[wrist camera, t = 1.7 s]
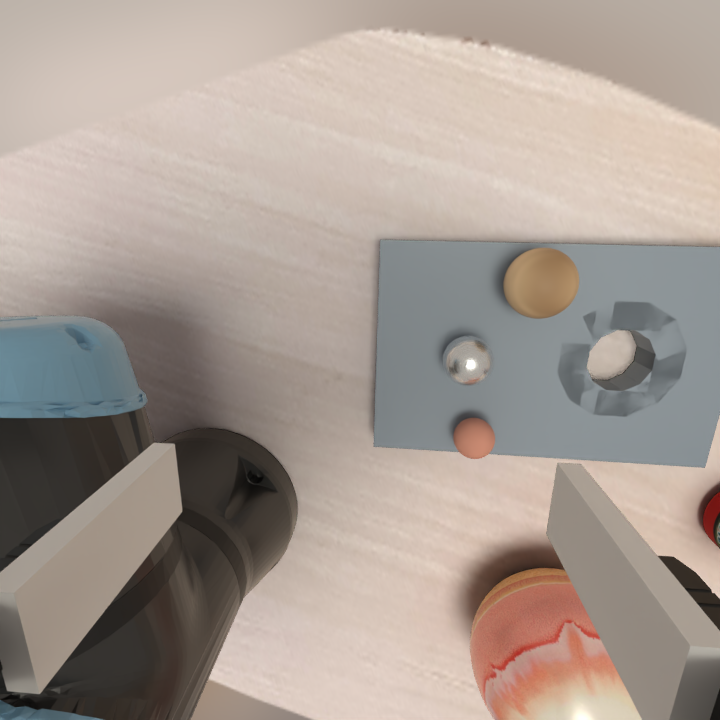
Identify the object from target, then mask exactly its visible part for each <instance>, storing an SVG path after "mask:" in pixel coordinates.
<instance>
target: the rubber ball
mask: <svg viewBox="0 0 720 720" xmlns="http://www.w3.org/2000/svg"><path fill="white" fill-rule="evenodd" d="M453 440H454V444H455V446H456V448H457V450H458V451H459V452H460V453H461V454H462V455H464V456H466V457H468V458H472V459H479V458H482V457H485V456H486V455H488V454H489V453H490V452H491V451H492V449H493V447H494V444H495V434H494V431H493V429H492V427H491V426H490V425H489V424H488V423H487V422H486V421H484V420H482V419H479V418H468V419H465V420H463V421H461V422H460V423H459V424H458V425H457V427H456V428H455V431H454V435H453Z"/></svg>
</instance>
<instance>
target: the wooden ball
mask: <svg viewBox="0 0 720 720" xmlns="http://www.w3.org/2000/svg"><path fill="white" fill-rule="evenodd" d="M503 288H504V294H505V297H506V300H507V301H508V303H509V305H510V306H511V307H512V308H513V309H514V310H515V311H516V312H518V313H519V314H521V315H523V316H526V317H529V318H535V319H543V318H549V317H552V316H555V315H557V314H559V313H560V312H562V311H563V310H565V309H566V308H567V307H568V306H569V305H570V304H571V303H572V301H573V300H574V298H575V296H576V294H577V292H578V288H579V274H578V270H577V268H576V266H575V264H574V262H573V261H572V260H571V259H570V258H569V257H568V256H567V255H566V254H564V253H563V252H561V251H559V250H556V249H552V248H536V249H532V250H529V251H526V252H524V253H523V254H521V255H520V256H518V257H517V258H516V259H515V260H514V261H513V262H512V263H511V264H510V266H509V267H508V269H507V271H506V274H505V277H504V282H503Z"/></svg>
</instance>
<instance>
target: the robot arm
mask: <svg viewBox="0 0 720 720" xmlns="http://www.w3.org/2000/svg"><path fill="white" fill-rule="evenodd" d="M146 403H147V397H146V394H145V393H144V392H143V391H142V390H141V389H140V388H139V385H138V383H137V380H136V377H135V374H134V371H133V368H132V365H131V362H130V360H129V357H128V354H127V351H126V348H125V345H124V343H123V341H122V339H121V337H120V336H119V335H118V333H117V332H116V331H115V330H113V329H112V328H111V327H110V326H108V325H107V324H105V323H103V322H101V321H99V320H96V319H93V318H89V317H83V316H20V317H0V720H190V719H191V717H192V715H193V713H194V711H195V708H196V706H197V703H198V701H199V699H200V697H201V694H202V692H203V690H204V688H205V685H206V683H207V681H208V678H209V676H210V674H211V671H212V669H213V667H214V665H215V662H216V660H217V658H218V655H219V653H220V651H221V649H222V646H223V644H224V642H225V639H226V637H227V635H228V632H229V630H230V628H231V626H232V623H233V621H234V619H235V616H236V614H237V612H238V609H239V607H240V605H241V603H242V600H243V598H244V597H245V596H246V595H247V594H248V593H249V592H250V591H251V590H252V589H253V588H254V587H255V586H256V585H257V584H258V583H259V582H260V580H261V579H262V578H263V577H264V576H265V575H266V574H267V573H268V572H269V571H270V570H271V569H272V568H273V567H274V566H275V565H276V564H277V563H278V562H279V560H280V559H281V558H282V556H283V554H284V553H285V551H286V549H287V547H288V544H289V542H290V539H291V537H292V534H293V531H294V528H295V525H296V520H297V500H296V495H295V491H294V488H293V485H292V483H291V481H290V479H289V477H288V475H287V473H286V472H285V470H284V469H283V467H282V466H281V465H280V463H279V462H278V461H277V460H276V459H275V458H274V457H273V456H272V455H271V454H270V453H269V452H268V451H267V450H265V449H264V448H263V447H261V446H260V445H258V444H257V443H255V442H254V441H252V440H250V439H248V438H246V437H244V436H241V435H239V434H236V433H233V432H229V431H225V430H219V429H194V430H189V431H185V432H182V433H179V434H177V435H175V436H172V437H171V438H169V439H167V440H166V441H164V442H163V443H155V442H154V438H153V435H152V431H151V428H150V424H149V421H148V418H147V414H146V411H145V407H144V406H145V405H146ZM546 534H547V536H548V538H549V540H550V542H551V544H552V546H553V548H554V550H555V552H556V554H557V556H558V557H559V559H560V561H561V563H562V565H563V567H564V569H565V571H566V573H567V575H568V577H569V579H570V581H571V583H572V585H573V587H574V589H575V590H576V592H577V594H578V596H579V598H580V600H581V602H582V604H583V606H584V608H585V610H586V612H587V614H588V616H589V618H590V620H591V622H592V623H593V625H594V627H595V629H596V631H597V633H598V635H599V637H600V639H601V641H602V643H603V645H604V647H605V649H606V651H607V653H608V655H609V656H610V658H611V660H612V662H613V664H614V666H615V668H616V670H617V672H618V674H619V676H620V678H621V680H622V682H623V684H624V686H625V687H626V689H627V691H628V693H629V695H630V697H631V699H632V701H633V703H634V705H635V707H636V709H637V711H638V713H639V715H640V717H641V719H642V720H720V599H719V598H718V597H717V596H716V595H715V593H712V592H711V589H710V588H709V587H708V586H707V585H706V583H705V582H704V581H703V580H702V579H701V578H700V577H699V576H698V575H697V573H696V572H694V571H693V570H691V569H690V568H689V567H687V566H686V565H684V564H683V563H682V562H680V561H679V560H677V559H676V558H674V557H669V556H657V555H656V554H655V552H654V551H653V550H652V549H651V548H650V546H649V545H648V544H647V543H646V542H645V540H644V539H643V538H642V537H641V536H640V534H639V533H638V532H637V531H636V529H635V528H634V527H633V526H632V525H631V523H630V522H629V521H628V520H627V519H626V517H625V516H624V515H623V514H622V513H621V511H620V510H619V509H618V508H617V507H616V505H615V504H614V503H613V502H612V501H611V499H610V498H609V497H608V496H607V495H606V493H605V492H604V491H603V490H602V489H601V487H600V486H599V485H598V484H597V483H596V481H595V480H594V479H593V478H592V477H591V475H590V474H589V473H588V472H587V470H586V469H585V468H584V467H583V466H582V464H571V463H557V468H556V474H555V480H554V487H553V493H552V500H551V506H550V512H549V519H548V525H547V532H546Z"/></svg>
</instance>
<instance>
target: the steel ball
mask: <svg viewBox="0 0 720 720" xmlns="http://www.w3.org/2000/svg"><path fill="white" fill-rule="evenodd" d="M443 367H444V370H445V372H446V374H447V375H448V377H449V378H450V379H451V380H453V381H454V382H456V383H458V384H460V385H466V386H471V385H476V384H479V383H481V382H483V381H484V380H485V379H487V378H488V376H489V375H490V374H491V372H492V370H493V367H494V355H493V352H492V349H491V348H490V346H489V345H488V344H487V343H486V342H485V341H484V340H482V339H480V338H478V337H475V336H462V337H459V338H456V339H455V340H453V341H452V342H451V343H450V344H449V345H448V346H447V348H446V349H445V351H444V354H443Z"/></svg>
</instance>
